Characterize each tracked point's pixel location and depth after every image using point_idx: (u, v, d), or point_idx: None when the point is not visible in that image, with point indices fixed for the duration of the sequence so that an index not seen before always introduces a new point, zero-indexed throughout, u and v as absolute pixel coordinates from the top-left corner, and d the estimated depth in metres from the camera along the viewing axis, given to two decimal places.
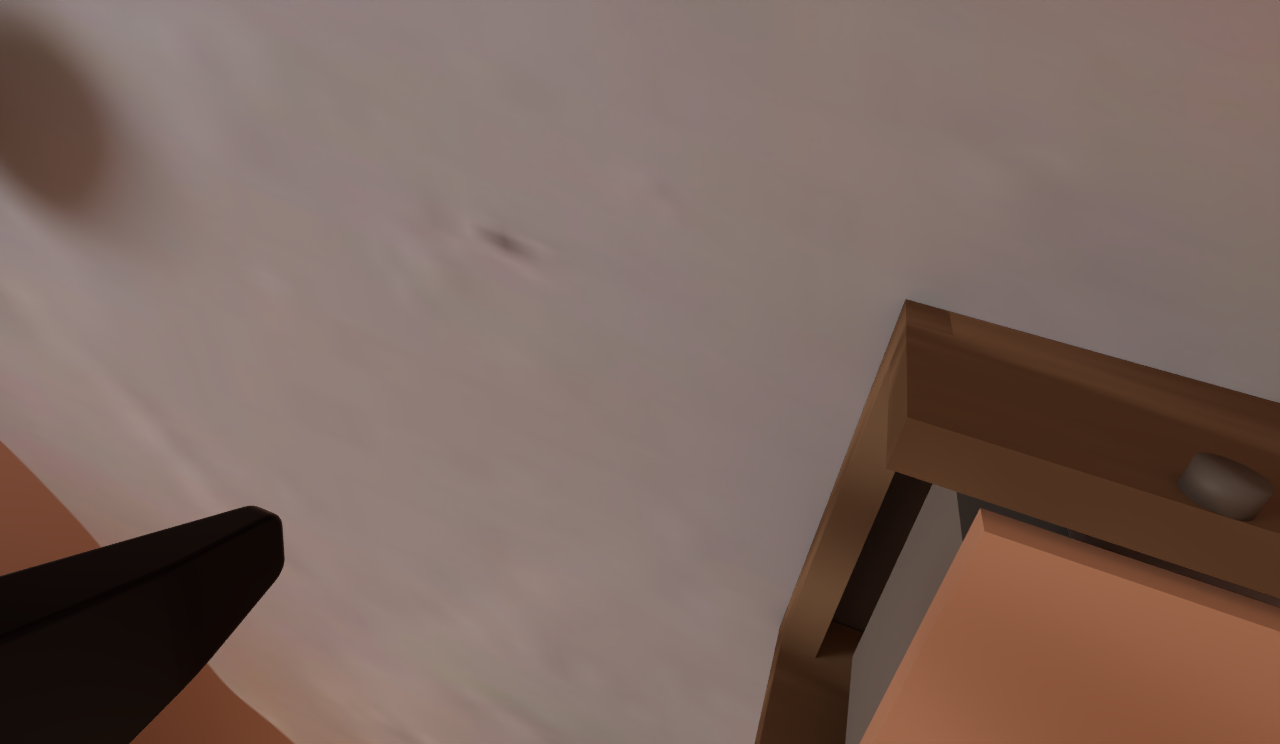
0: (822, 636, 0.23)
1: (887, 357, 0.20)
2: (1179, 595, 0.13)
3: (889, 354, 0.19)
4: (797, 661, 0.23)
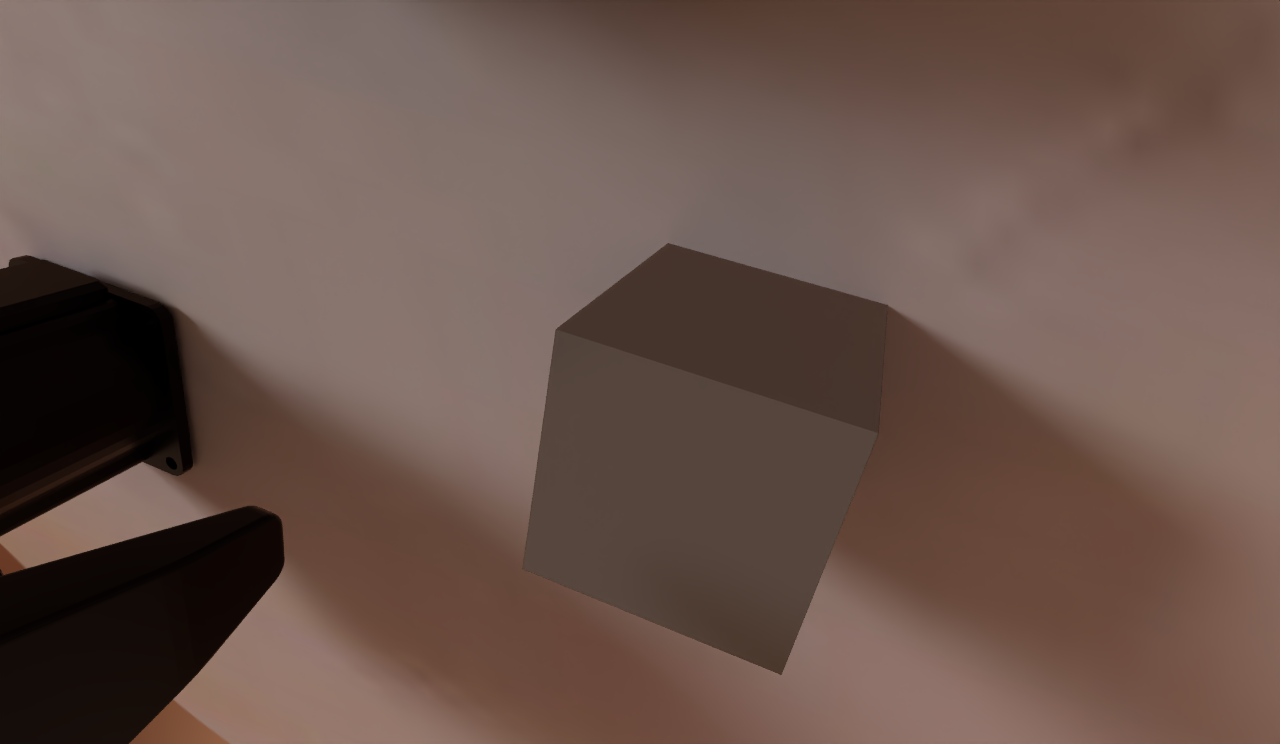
0: None
1: None
2: None
3: None
4: None
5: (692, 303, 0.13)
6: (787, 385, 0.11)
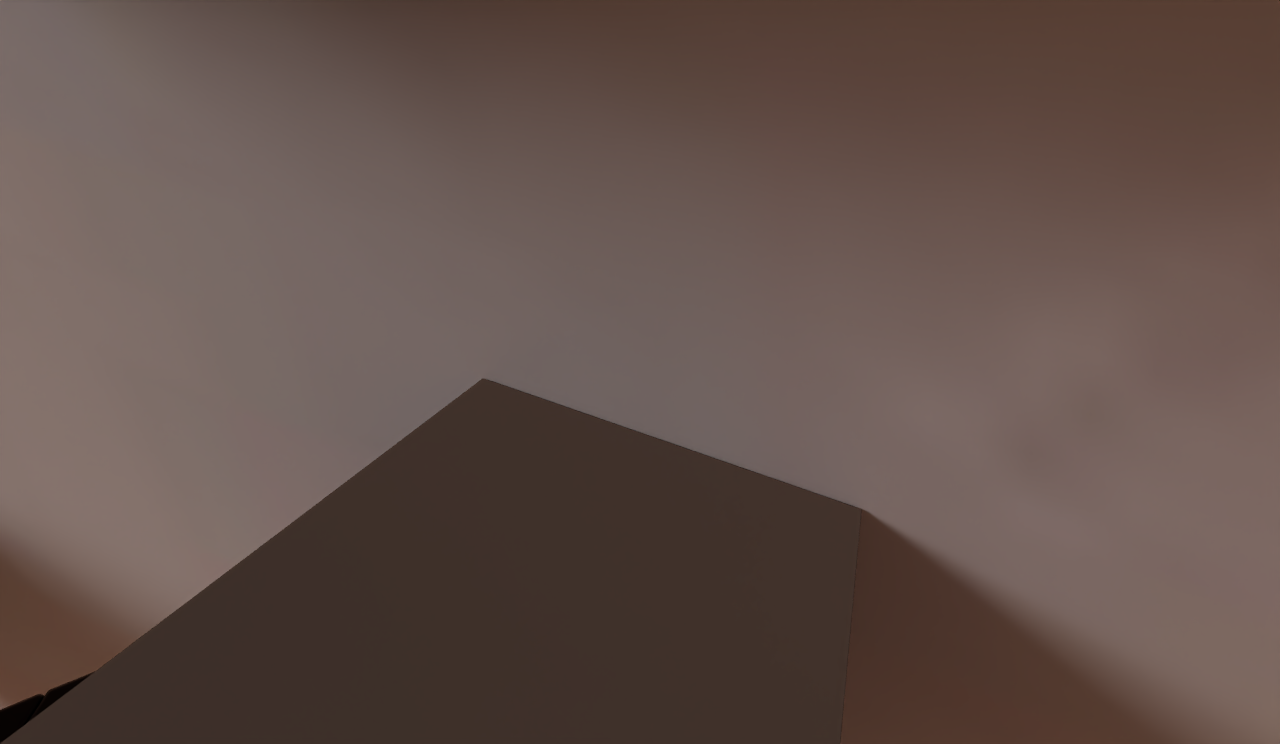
0: None
1: None
2: None
3: None
4: None
5: (439, 577, 0.06)
6: None
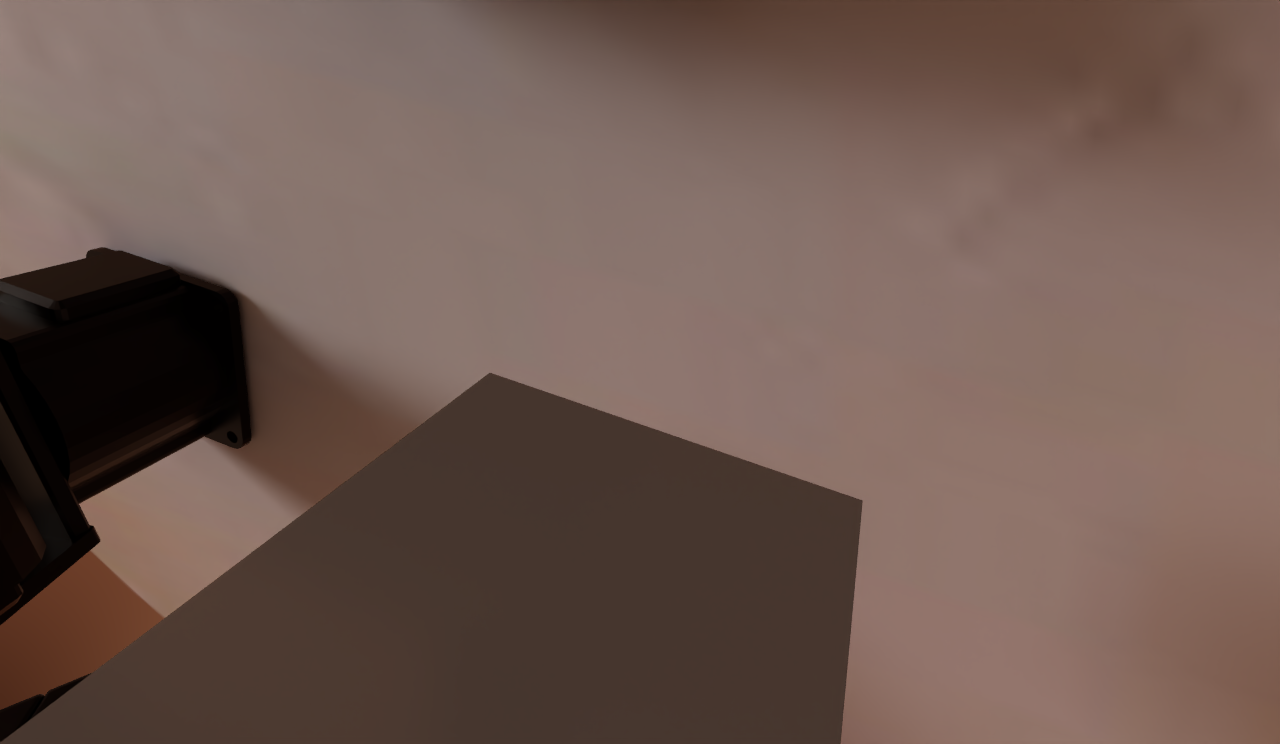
0: None
1: None
2: None
3: None
4: None
5: (451, 564, 0.06)
6: None
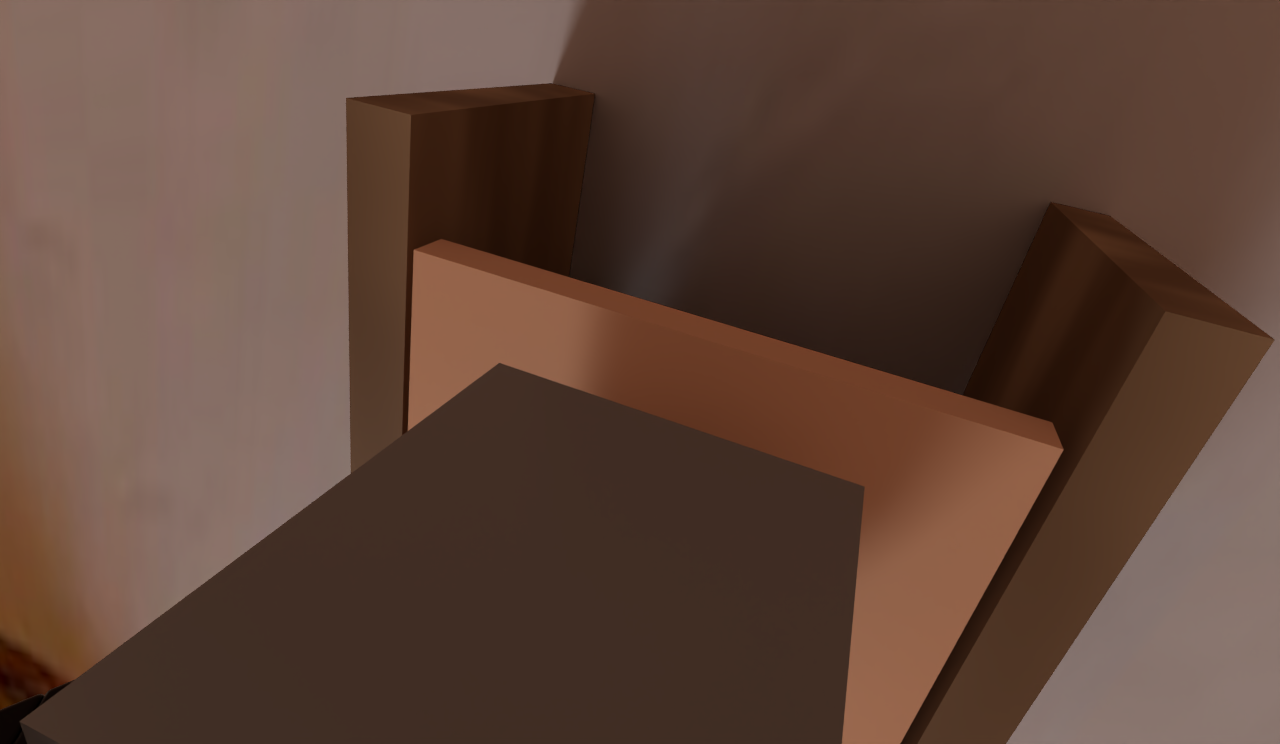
0: None
1: None
2: None
3: None
4: None
5: (466, 543, 0.06)
6: None
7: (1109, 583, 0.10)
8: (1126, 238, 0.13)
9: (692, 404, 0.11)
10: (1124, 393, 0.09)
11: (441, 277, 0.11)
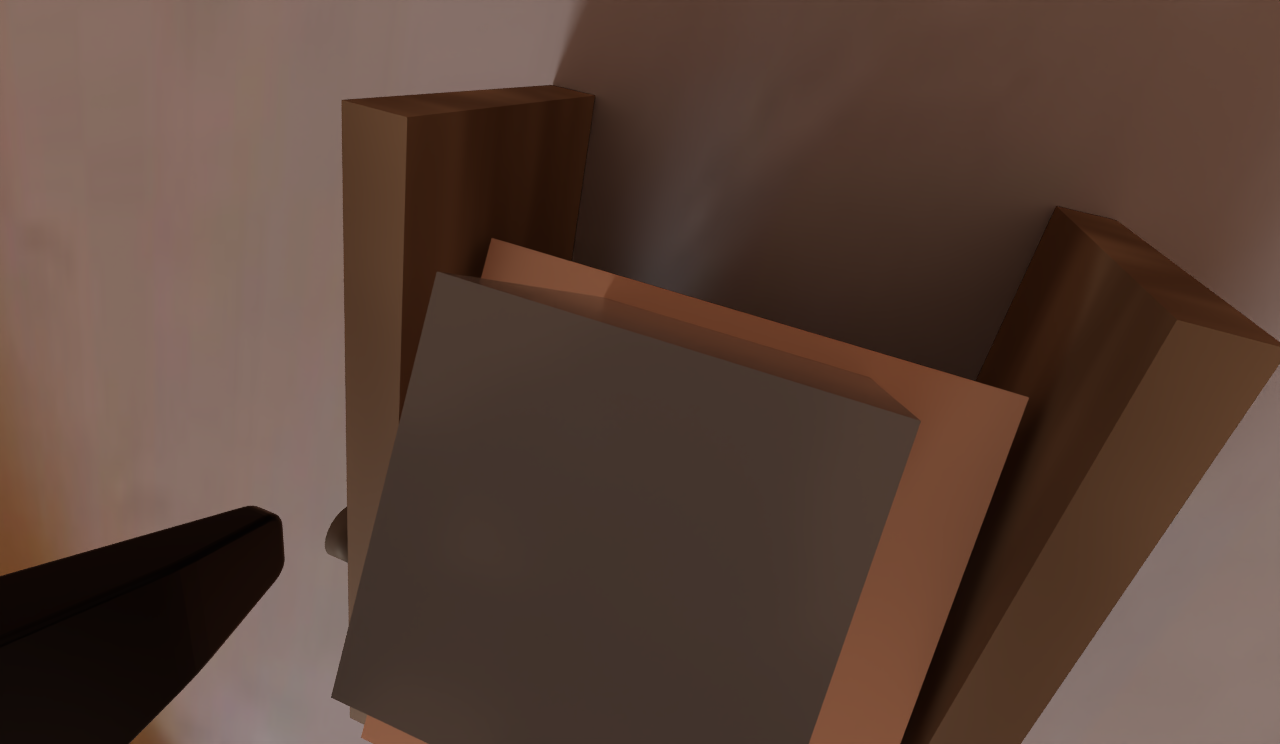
0: None
1: None
2: None
3: None
4: None
5: (634, 317, 0.10)
6: (773, 371, 0.07)
7: (1118, 596, 0.10)
8: (1134, 243, 0.13)
9: None
10: (1134, 403, 0.09)
11: (511, 261, 0.14)
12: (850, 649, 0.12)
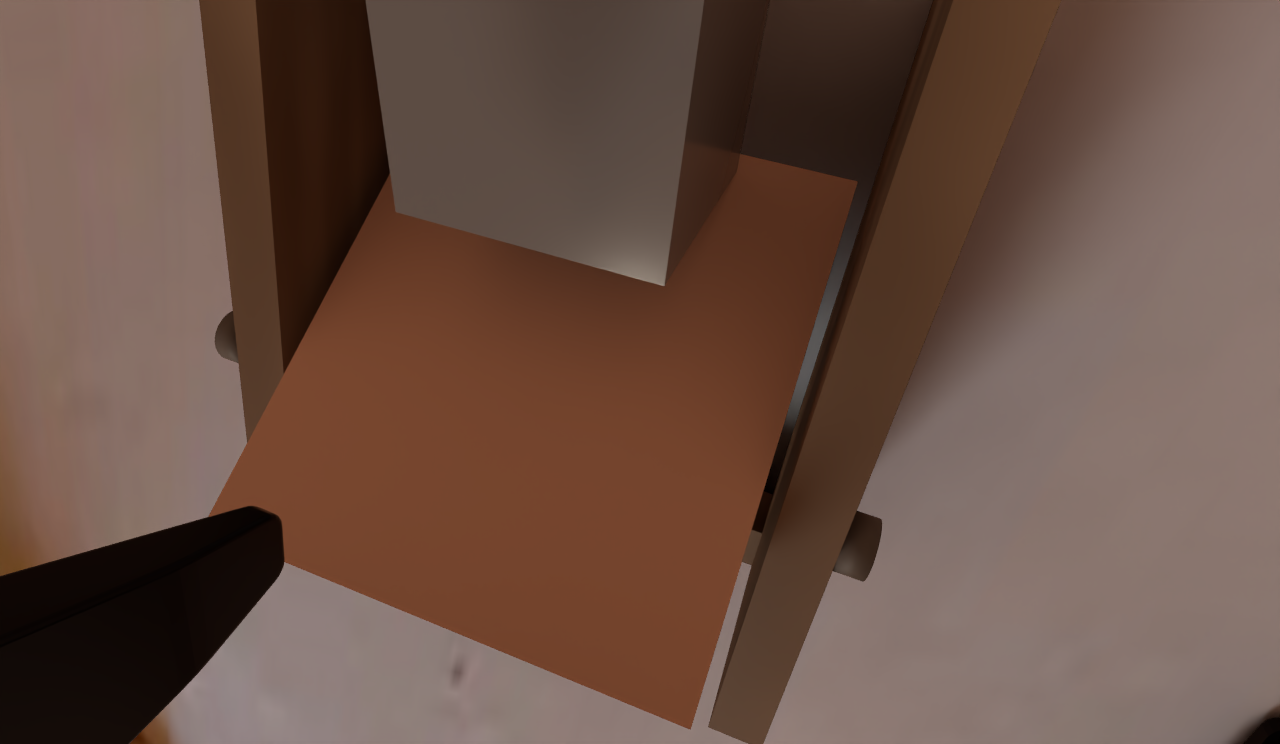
0: None
1: None
2: None
3: None
4: (754, 558, 0.20)
5: None
6: None
7: None
8: None
9: None
10: (944, 43, 0.09)
11: None
12: (722, 387, 0.13)
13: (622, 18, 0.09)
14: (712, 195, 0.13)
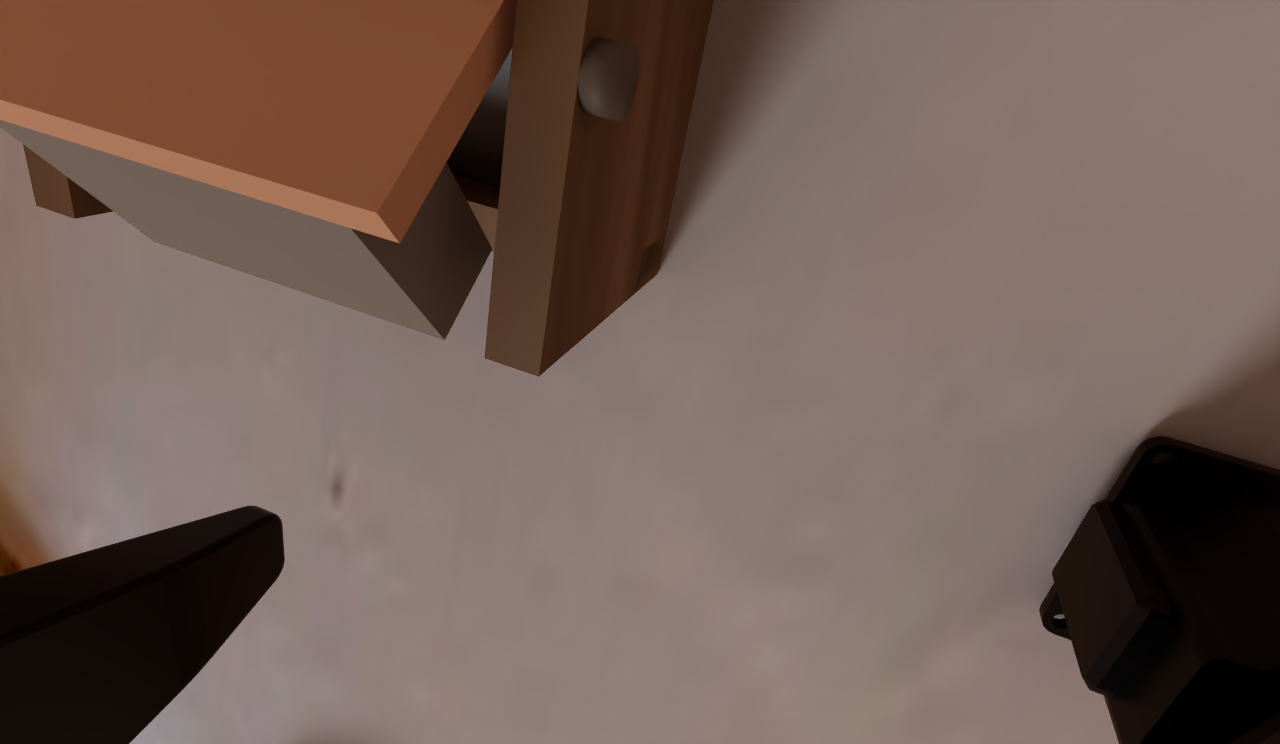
0: None
1: None
2: None
3: None
4: None
5: None
6: None
7: None
8: None
9: None
10: None
11: None
12: None
13: None
14: None
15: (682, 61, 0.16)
